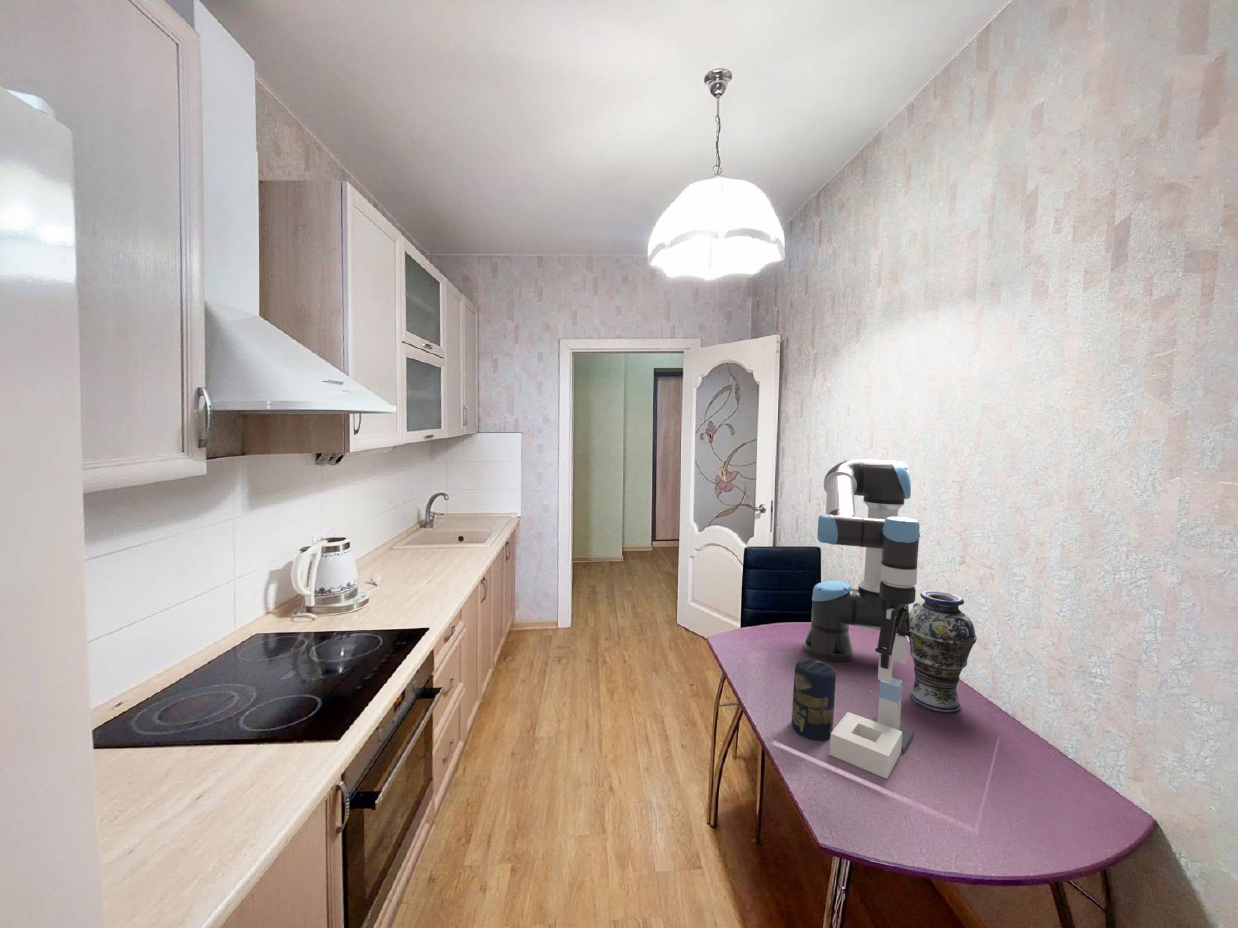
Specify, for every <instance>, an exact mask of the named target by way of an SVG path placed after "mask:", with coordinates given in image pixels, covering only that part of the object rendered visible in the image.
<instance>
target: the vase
mask: <svg viewBox="0 0 1238 928" xmlns="http://www.w3.org/2000/svg"><path fill="white" fill-rule="evenodd" d="M919 596H920V597H921V599H922V600H924V601H919V602H914V603H913V607H912V608H911V610H909V622H910V631H908V632H911V637H909V636H907V638H908V642H909V646H910V647H909V648H910V652H909V653H910V656H911V657H912V661H913V666H914V667H913V671H914V682H913V684H912V688H911V691H910V693H909V694H908V695H909V699H910V700H911V701H912V702H913V703H915V704H916V705H918V706H919V707H921V708H923V709H926V710H928V711H931V712H934V713H939V714H957V713H960V711H961V710H962V709H961V708H962V707H961V705H960V701H959V697H958V692H957V687H958V684H959V682H960V675H961V673H962V671H963V669H964V668H966V667H967V665H968V659H969V656H970V653H971V651H972V649H973V646H974V645H975V644H976V642H977V640H978V639H977V635H976V631H975V630H976V629H975V627H974V623H973V622H972V620H971V619H970V617H969V616H968V615H966V614H965V613H964V612H963V611H961V610H960V609H959V607H960V606H961V605H964V604H965V600H964V599H963V598H962V597H961V596H960V595H957V594H955V593H953V592H952V593H951V592H947V591H943V590H924V591H922V592H921V593H920V594H919Z"/></svg>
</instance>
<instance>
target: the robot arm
mask: <svg viewBox="0 0 1238 928" xmlns="http://www.w3.org/2000/svg"><path fill="white" fill-rule="evenodd" d="M823 489H824V492H825V493H826V501H825V502H826V505H825V514H820V515H819V516H818V517H817V519H818V521H817V535H816V536H817V537H816V538H817V541H818V542H820V543H823V544H829V545H832V546H834V545H838V546H848V547H849V546H850V547H858V548H859V547H860V548H861V547H862V548H865V558H864V559H865V560H864V575H863V577H864V579H863V580H862V581H860V582H859V583H858V588H857V589H856V588H853V587H852V585H851V584H850V583H849V582H843V581H840V580H830V581H829V580H828V581H822V582H818V583H816V584H815V585H814V586H813V589H812V597H811V600H812V601H811V602H812V603H811V605H812V606H811V620H810V621H811V623H810V628H809V630H808V633H807V635H806V637H805V640H804V650H805V652H806V653H807V654H809V655H811V656H812V657H814V658H816V659H820V660H823V661H829V662H835V663H836V662H837V663H840V662H843V663H844V662H848V661H850V660H852V659H853V658H854V647H853V643H852V640H851V637H850V633H849V629H850V626H853V627H862V628H866V629H873V630H874V629H875V630H879V637H878V640H877V641H878V643H877V647H875V649H874V651H875V652H876V653H878V670H877V680H878V681H880V680H882V681H885V682H888V683H891V681H892V677H893V663H894V662H897V663H901V664H904V665H905V664H907V663H906V662H907V652H908V650H907V649H908V638H909V637H911V632H908V631H910V622H909V613H910V610H909V608H910V607H909V605H911V604H915V603H916V602H915V601H916V591H917V589H916V585H917V581H918V560H919V559H918V557H919V556H918V555H919V546H920V538H921V533H920V522H919V521H918V520H916V519H913V518H910V517H905V516H903V517H901V516H899V509H901V508H902V507H903V506H905V500H909V499H910V498H911V494H912V493H911V492H912V491H911V490H912V489H911V476H910V471H909V468H908V465H907V464H906V463H905V462H903V461H898V460H897V461H896V460H891V459H889V460H886V459H885V460H884V459H883V460H881V459H880V460H879V459H860V458H859V459H854V458H852V459H848V460H844V461H842V462H839V463H837V464H836V465H834V466H833V467H831V468H830V469H829V470H828V472H827V473H826V475H825V476H824V480H823ZM855 496H861V497H863V503H864V504H865V505H866V506H867V508H868V509H867V517H859V516H856V506H855ZM908 636H909V637H908Z"/></svg>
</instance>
